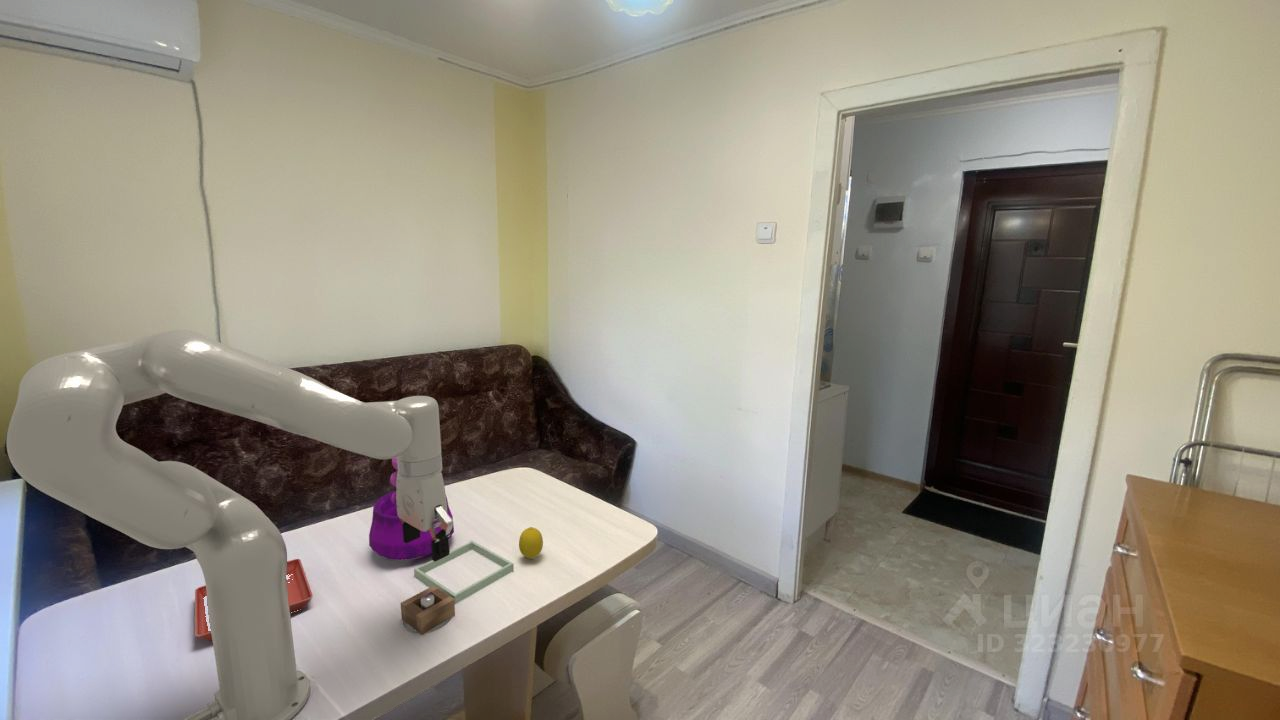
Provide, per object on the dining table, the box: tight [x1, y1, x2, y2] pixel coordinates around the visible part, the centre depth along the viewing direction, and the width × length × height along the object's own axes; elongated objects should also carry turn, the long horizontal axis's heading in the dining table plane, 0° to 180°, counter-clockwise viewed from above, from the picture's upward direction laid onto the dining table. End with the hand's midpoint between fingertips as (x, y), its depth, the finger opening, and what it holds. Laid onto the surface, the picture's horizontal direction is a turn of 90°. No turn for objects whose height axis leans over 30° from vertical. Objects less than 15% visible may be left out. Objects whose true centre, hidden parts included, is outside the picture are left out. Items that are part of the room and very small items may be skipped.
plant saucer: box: [194, 558, 314, 641], centre depth 105 cm, size 18×18×3 cm
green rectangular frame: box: [413, 540, 515, 605], centre depth 116 cm, size 15×15×2 cm
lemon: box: [518, 526, 544, 560], centre depth 123 cm, size 6×6×8 cm
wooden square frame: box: [400, 586, 456, 636], centre depth 102 cm, size 7×7×4 cm
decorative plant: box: [368, 457, 455, 561], centre depth 124 cm, size 19×18×30 cm
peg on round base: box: [402, 594, 453, 635], centre depth 102 cm, size 9×9×5 cm
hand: (426, 548), depth 100 cm, fingers open, 9 cm apart
